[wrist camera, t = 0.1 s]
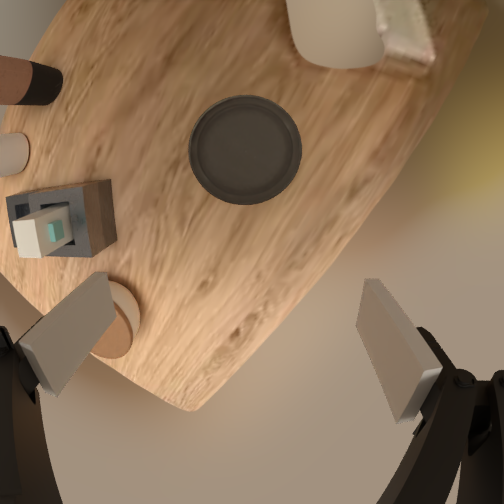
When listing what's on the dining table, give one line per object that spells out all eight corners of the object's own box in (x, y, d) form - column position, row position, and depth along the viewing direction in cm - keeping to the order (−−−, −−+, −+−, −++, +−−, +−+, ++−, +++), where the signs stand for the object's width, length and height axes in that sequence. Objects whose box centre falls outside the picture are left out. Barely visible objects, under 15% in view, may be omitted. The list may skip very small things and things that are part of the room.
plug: (58, 203, 37) (12, 221, 26) (86, 200, 36) (39, 218, 26) (63, 233, 38) (19, 257, 28) (90, 232, 38) (46, 258, 28)
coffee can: (298, 128, 36) (317, 115, 23) (275, 196, 39) (280, 219, 26) (227, 105, 35) (207, 82, 22) (205, 174, 39) (175, 186, 26)
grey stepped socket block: (19, 193, 40) (-9, 201, 33) (110, 179, 39) (82, 186, 32) (26, 240, 44) (1, 254, 36) (117, 239, 43) (92, 257, 35)
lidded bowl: (80, 292, 47) (49, 321, 36) (115, 255, 44) (80, 283, 33) (124, 339, 50) (100, 375, 40) (164, 309, 47) (141, 349, 36)
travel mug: (31, 105, 34) (-49, 105, 16) (43, 67, 32) (-34, 54, 13) (56, 108, 35) (-31, 106, 16) (69, 68, 32) (-13, 48, 14)
